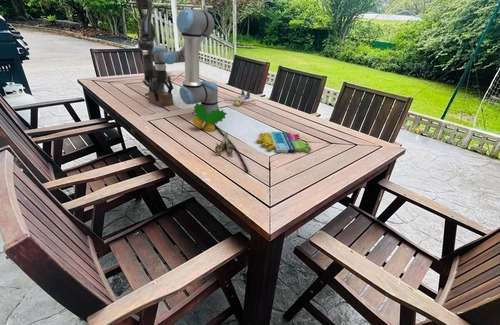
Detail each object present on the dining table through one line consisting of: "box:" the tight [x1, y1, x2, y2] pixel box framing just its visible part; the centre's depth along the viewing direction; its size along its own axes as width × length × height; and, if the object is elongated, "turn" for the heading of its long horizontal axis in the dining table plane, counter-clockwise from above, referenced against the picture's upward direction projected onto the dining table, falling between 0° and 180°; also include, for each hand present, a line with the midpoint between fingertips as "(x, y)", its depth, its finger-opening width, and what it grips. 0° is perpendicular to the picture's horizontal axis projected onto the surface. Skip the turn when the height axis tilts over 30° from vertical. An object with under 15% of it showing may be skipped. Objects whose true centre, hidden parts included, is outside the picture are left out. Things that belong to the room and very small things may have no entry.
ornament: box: [191, 102, 228, 132], centre depth 162 cm, size 21×8×15 cm, turn 105°
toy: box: [223, 89, 257, 106], centre depth 219 cm, size 28×7×30 cm
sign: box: [256, 131, 312, 154], centre depth 152 cm, size 26×2×30 cm
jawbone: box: [214, 131, 234, 156], centre depth 136 cm, size 9×15×10 cm
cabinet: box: [147, 90, 174, 108], centre depth 201 cm, size 16×10×8 cm, turn 50°
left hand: (151, 91), depth 207 cm, fingers closed
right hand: (163, 99), depth 200 cm, fingers closed on cabinet, 10 cm apart
